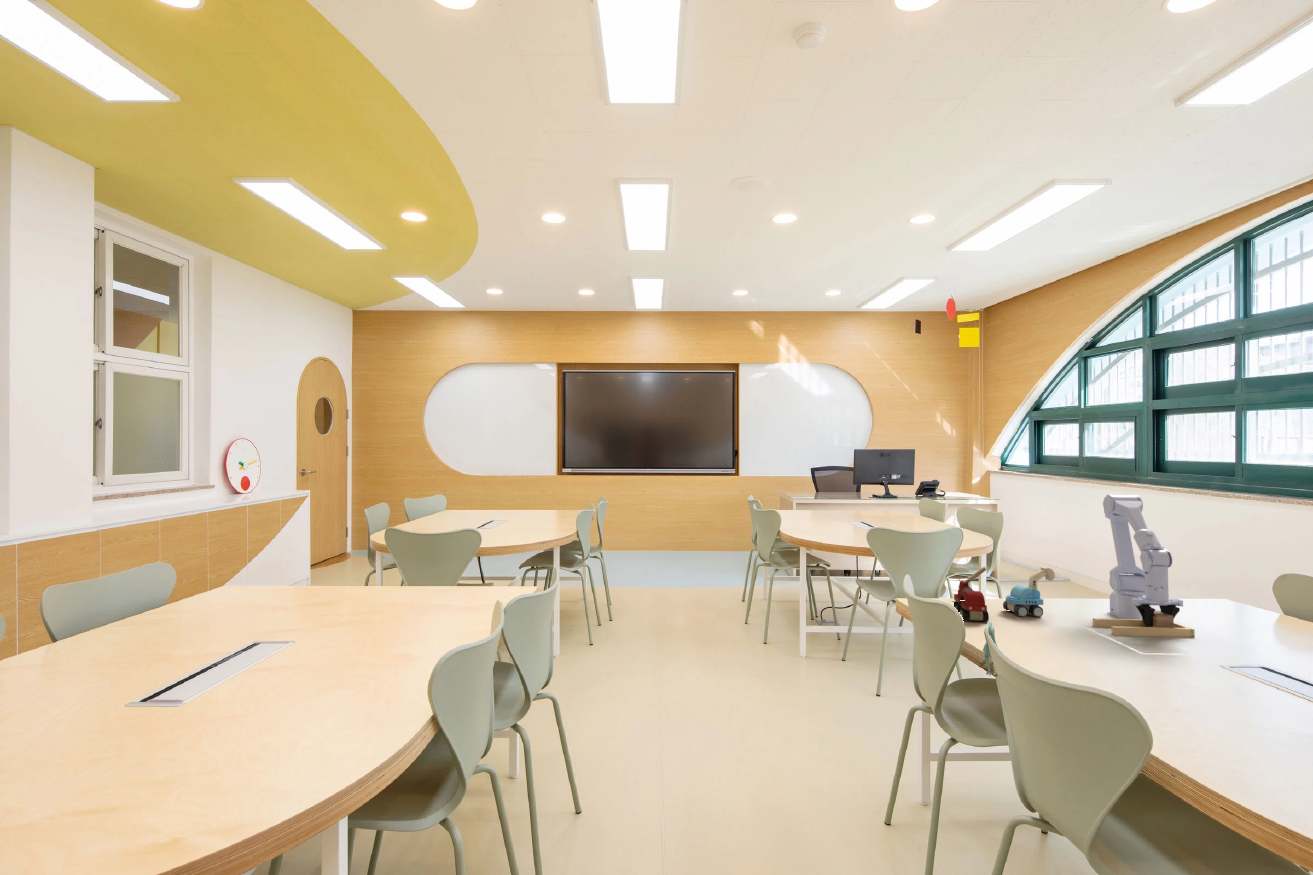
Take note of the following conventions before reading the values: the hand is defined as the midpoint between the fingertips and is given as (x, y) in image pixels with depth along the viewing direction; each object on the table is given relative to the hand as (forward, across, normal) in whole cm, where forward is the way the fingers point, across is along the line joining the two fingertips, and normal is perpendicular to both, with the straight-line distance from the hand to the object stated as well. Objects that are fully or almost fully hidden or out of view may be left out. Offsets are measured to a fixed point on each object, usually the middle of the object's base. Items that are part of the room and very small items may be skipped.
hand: (1157, 627), depth 180 cm
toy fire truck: (+2, -52, +14) cm, 53 cm away
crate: (+1, 0, 0) cm, 1 cm away
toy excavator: (+2, -29, +19) cm, 35 cm away
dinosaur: (+2, -69, -34) cm, 77 cm away
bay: (+2, -5, 0) cm, 5 cm away
